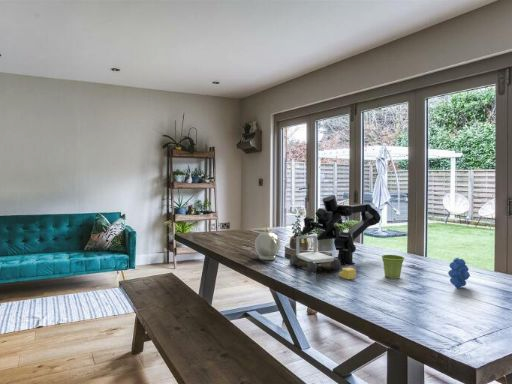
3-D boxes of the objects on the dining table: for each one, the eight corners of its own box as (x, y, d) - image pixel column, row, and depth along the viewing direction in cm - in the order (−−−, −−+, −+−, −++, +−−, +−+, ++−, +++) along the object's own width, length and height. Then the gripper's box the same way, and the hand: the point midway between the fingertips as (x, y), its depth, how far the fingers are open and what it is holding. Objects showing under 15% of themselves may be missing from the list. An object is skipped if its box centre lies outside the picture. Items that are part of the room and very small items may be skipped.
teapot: (250, 257, 201) (250, 227, 200) (273, 255, 206) (272, 225, 205) (264, 264, 184) (263, 231, 184) (288, 261, 190) (288, 229, 189)
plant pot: (403, 275, 163) (404, 255, 162) (404, 280, 154) (405, 260, 153) (381, 273, 166) (381, 254, 165) (381, 278, 157) (381, 258, 157)
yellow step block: (346, 275, 163) (346, 266, 163) (355, 278, 158) (355, 269, 158) (339, 276, 162) (339, 267, 162) (348, 279, 156) (348, 270, 156)
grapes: (461, 293, 136) (461, 261, 136) (443, 289, 142) (444, 258, 141) (477, 288, 142) (478, 257, 142) (460, 284, 148) (460, 254, 148)
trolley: (290, 263, 185) (290, 235, 184) (316, 261, 191) (316, 233, 190) (312, 273, 166) (312, 242, 165) (340, 270, 172) (340, 239, 171)
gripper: (312, 201, 181) (291, 216, 172) (345, 209, 167) (323, 226, 159) (316, 220, 185) (295, 236, 177) (347, 230, 172) (327, 247, 163)
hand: (309, 236), depth 169 cm, fingers open, 9 cm apart
